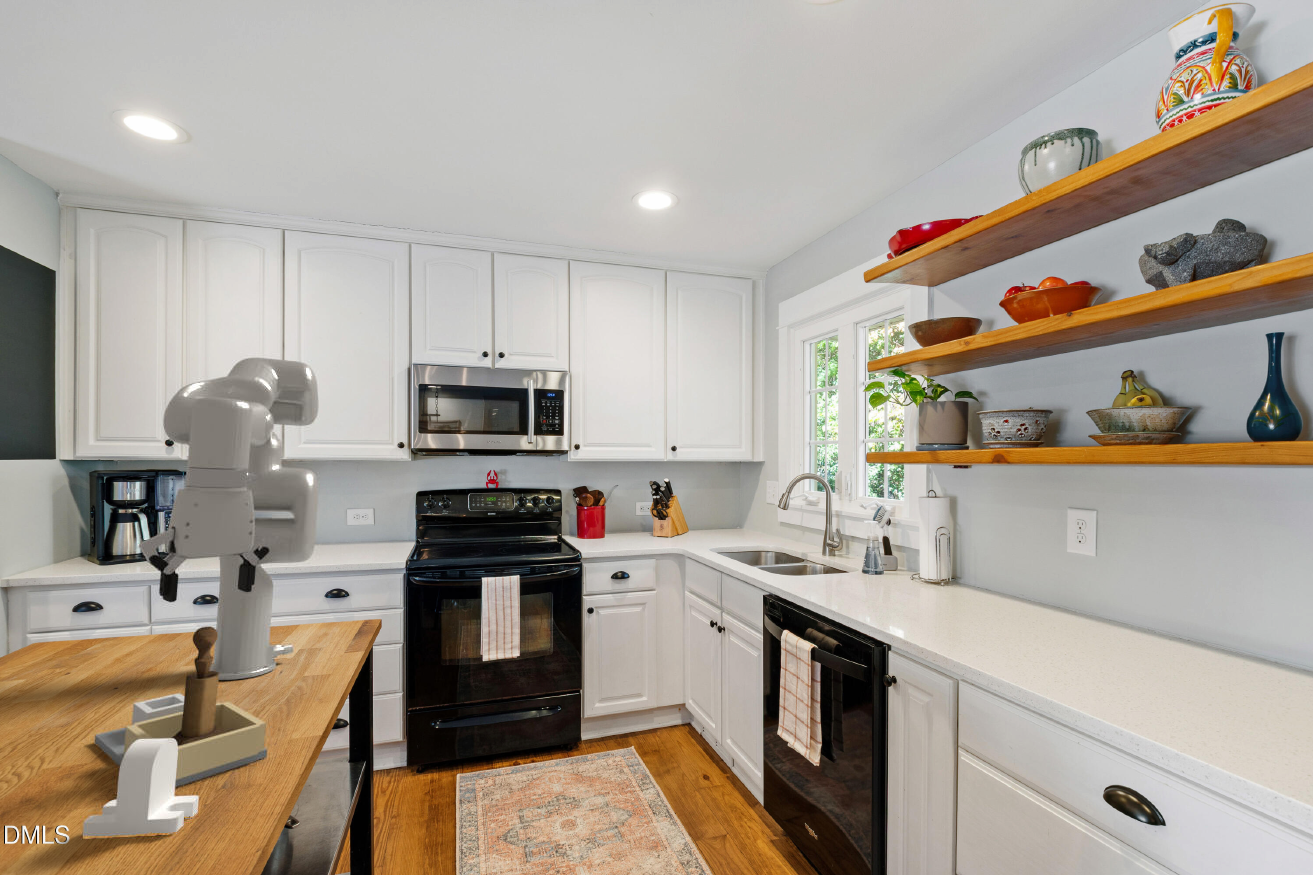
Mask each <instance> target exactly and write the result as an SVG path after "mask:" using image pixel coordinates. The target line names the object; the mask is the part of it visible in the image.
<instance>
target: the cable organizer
mask: <svg viewBox="0 0 1313 875" xmlns="http://www.w3.org/2000/svg"><path fill="white" fill-rule="evenodd" d="M177 757H178V745H177V742H176V740H175V739H174V738H162V739H138V740H136V741H135V742H134V743H133V744H132V745H131V746H130V747H129V748H128V750H127V752H126V753H125V755H124V757H123V760H122V763H121V766H119V772H118V780H117V792H116V793H117V794H116V799H112V800H110V801H108V802H107V803H105V804H104V805H103V806H102V813H101V814H98V815H97V814H96V815H89V816H88V817H87V818H86V819H84V821H83V825H82V826H83V827H82V836H83V835H84V836H116V835H118V836H119V835H121V836H123V835H125V836H126V835H137V834H140V835H141V834H148V833H173V832H177V831H178V830H179V829H180V828H181V827H182V826H183V827H184V822H185V819H184V816H185V817H189V816H190V817H193V816H194V815H195V814H196V813H197V814H198V811H199V810H198V809H199V801H200V800H199V799H200V798H199V795H175V791H176V787H175V781H176V769H177ZM197 814H196V815H197ZM196 815H195V816H196ZM195 816H194V817H195ZM194 817H193V818H194Z"/></svg>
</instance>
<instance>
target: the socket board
mask: <svg viewBox="0 0 1313 875" xmlns="http://www.w3.org/2000/svg"><path fill="white" fill-rule="evenodd" d="M184 697H185V695H183V694H181V693H180V692H179V693H173V694H169V695H164V696H160V697H157V698H156V697H155V698H151V699H148V700H147V699H146V700H143V701H142V700H141V701H138V702H134V703H133V709H132V716H131V717H132V719H131V725H126V726H125V727H121V728H117V729H113V730H109V731H107V732H101V733H97V734H95V735H94V742H95V743H96V744H97V745H98V746H99V747H100V748H101V749H100V748H99V747H98V746H97V745H96V744H95V743H94V744H95V745H96V746H97V747H98V748H99V749H100V750H101V751H103V752H104V754H106V753H107V754H108V755H109V756H110V757H111V758H112V761H114V763H116V764H117V765H118V766H119V767H120V766H121V763H122V760H123V757H124V755H125V753H126V752H127V750H128V748H129V747H130V746H131V745H132V744H133V743H134V742H135V741H136V740H138V739H162V738H172V737H173V736H175V735H176V734H177V733H178V732H179V731H181V728H182V718H183V708H184ZM214 725H215V726H217V727H219V728H220V729H222V730H223V732H224V734H220V735H217V736H213V737H210V738H206V739H203V740H199V741H196V742H192V743H188V744H185V745H181V746H178V757H177V769H176V781H175V788H177V787H180V786H184V785H187V784H190V783H193V782H195V781H199V780H202V779H204V778H208V777H211V776H214V775H217V774H221V773H223V772H226V771H229V770H233V769H236V768H240V767H242V766H245V765H248V763H249V764H251V762H252V763H255V762H257V760H258V761H260V760H259V759H261V760H263V758H264V759H266V758H265V757H267V756H268V749H267V748H266V747H265V737H266V725H267V722H265V721H263V720H261V719H260V718H258V717H256V716H254V715H253V714H251V713H249V712H248V711H246V710H244V709H242V708H240V707H238V706H237V705H235V704H233V703H232V702H229V701H224V702H216V710H215V722H214ZM107 754H106V755H107ZM108 755H107V756H108ZM109 756H108V757H109ZM110 757H109V758H110ZM111 758H110V759H111ZM267 758H268V757H267ZM254 761H255V762H254Z"/></svg>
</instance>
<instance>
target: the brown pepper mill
mask: <svg viewBox="0 0 1313 875" xmlns="http://www.w3.org/2000/svg"><path fill="white" fill-rule="evenodd" d="M217 637H218V633H217V631H216V627H213V626H202V627H199V628H198V629H196V631H195V632H194V633H193V636H192V643H193V645H194V646H195V648H196V649H197V651H198V653H197V656H196V657H195V658H194V660H193V662H194V667H195V671H196V672H191V673H189V674H187V675H186V676H185V686H184V696H185V697H184V708H183V718H182V728H181V731H179V732H178V733H177V734H176V735H175V736H173V737H172V738H174V739H175V740H176V742H177V745H178V746H181V745H185V744H188V743H192V742H196V741H199V740H203V739H206V738H210V737H213V736H217V735H220V734H224V732H223V730H222V729H220V728H219V727H217V726H215V725H214V722H215V710H216V703H217V696H218V689H219V688H218V687H219V680H218V679H219V672H217V671H209V670H210V667H211V664H212V663H213V661H214V656H212V655H211V649H212V648H213V646H215V642H216V640H217Z"/></svg>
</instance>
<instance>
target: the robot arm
mask: <svg viewBox="0 0 1313 875" xmlns="http://www.w3.org/2000/svg"><path fill="white" fill-rule="evenodd" d="M317 382H318V381H317V377H316V374H315V372H314V370H313V369H312V368H311V367H310V366H309V365H308V364H307V363H305V362H301V361H294V360H285V359H284V360H283V359H274V358H265V357H248V358H244V359H241V360H240V361H238V362H236V364H234V366H233V367H232V369H230V372H229V373H228V374H227V376H221V377H217V378H214V379H213V378H212V379H208V380H203V381H201V380H200V381H197V382H192V383H189V384H187V385H185V386H183V387H181V388H180V389H179V390H177V392H176V393H175V394H174V396H172V398H171V399H170V401H169V402H168V404H167V406H166V408H165V411H164V414H163V420H162V421H163V429H164V432H165V435H166V436H167V438H169V439H170V440H171V441H172V442H174V443H177V444H179V445H180V444H181V445H189V446H188V455H187V469H186V479H185V480H186V481H185V482H186V483H185V488H179V489H178V490H177V493H176V495H175V498H174V502H173V505H172V509H171V510H172V511H171V513H170V520H169V524H168V528H167V530H165V531H163V532H161V533H158V534H156V535H155V536H154V535H153V536H152V537H150V538H148V539H146V540H144V541H142V542H140V543H139V545H138V547H139V549H140V551H141V553H142V554H143V556H144V557H145V559H146V562H147V563H149V564H150V565H151V566H153V567H154V568H155V569H156V570H157V571H158V572H160V576H159V577H160V578H159V579H160V580H159V588H158V589H159V590H158V592H159V596H161V597H162V599H163V601H166V602H168V603H175V601H177V599H178V598H177V597H178V588H179V574H178V573H176V570H177V569H179V567H180V566H181V565H182V564H183V563H184V562H185V561H186V560H193V559H194V560H195V559H196V560H197V559H208V558H219V590H218V591H219V592H218V602H217V604H218V605H217V613H216V614H217V616H216V625H215V626H216V627H215V629H216V631H217V633H218V637H217V640H216V642H215V643H214V650H213V651H214V652H213V661H212V664H211V667H210V670H209V671H217V672H219V679H218V681H232V680H233V681H234V680H241V679H248V678H253V677H258V676H261V675H265V674H266V673H267V674H268V673H270V672H271V671H273V670H274V669H275V668H276V666H277V661H276V659H275V658H277V657H278V656H280V655H281V656H282V655H283V656H284V655H288V654H292V653H293V651H294V646H293V644H292V643H290V644H283V645H282V644H274V645H273V644H270V635H271V624H272V623H271V622H272V611H273V598H274V597H273V596H274V583H273V579H272V577H271V576H270V575H269V573H268V572H267V571H266V570H265V569H264V568H263V567H262V565H266V564H284V563H285V564H292V563H293V564H295V563H296V564H297V563H302V562H305V561H308V560H309V559H310V558H312V555H313V553H314V549H315V543H316V532H317V518H318V503H319V502H318V501H319V481H318V478H317V475H316V474H315V473H314V471H312V470H309V469H306V468H301V467H297V468H296V467H283V465H282V461H283V452H284V451H283V450H284V448H283V443H282V441H281V439H280V438H279V436H278V435H277V434H276V433H275V431H274V426H275V425H279V426H280V425H283V426H297V427H298V426H299V427H304V426H305V427H306V426H309V425H311V424H313V423H314V422H315V420H316V419H317V417H318V414H319V405H320V404H319V395H318V394H319V393H318V392H319V391H318V383H317ZM255 512H274V513H275V512H282V513H284V512H286V513H290V514H292V516H293V517H289V518H288V517H282V518H281V517H255ZM164 544H166V545H165V546H166V547H165V549H166V550H165V551H166V553H167V554H168V555H167V556H166V557H165V558H163V557H161V556H160V555H159V554H158V551H157V548H158V547H160V546H162V545H164Z"/></svg>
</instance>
